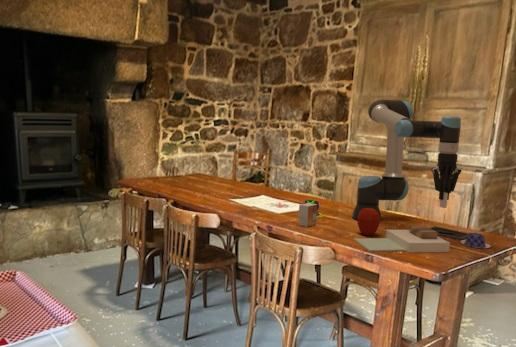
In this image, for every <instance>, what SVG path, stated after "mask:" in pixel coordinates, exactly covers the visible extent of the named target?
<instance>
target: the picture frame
mask: <svg viewBox="0 0 516 347" xmlns="http://www.w3.org/2000/svg"><path fill="white" fill-rule="evenodd" d="M429 228H430V229H432V230H434V231H436V232H438V235H437V237H441V238H442V237H443V238H447V239H451V240H455V241H462V240H466V239H467V236H468V234H469V233H470V232H464V231H459V230H455V229H450V228H446V227H442V226H441V227H440V226H435V225H434V226H431V227H429Z"/></svg>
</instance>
